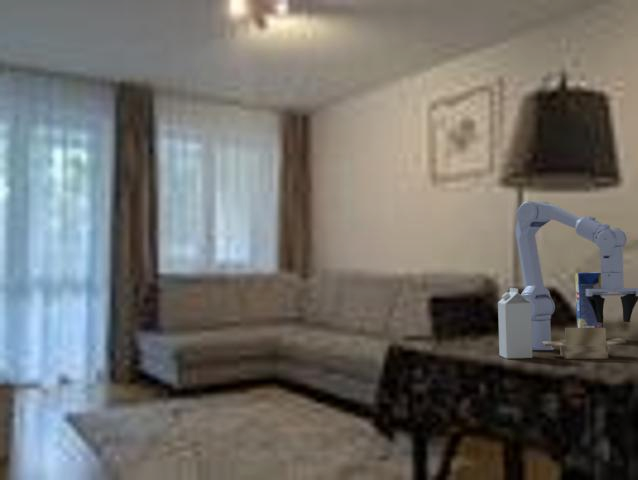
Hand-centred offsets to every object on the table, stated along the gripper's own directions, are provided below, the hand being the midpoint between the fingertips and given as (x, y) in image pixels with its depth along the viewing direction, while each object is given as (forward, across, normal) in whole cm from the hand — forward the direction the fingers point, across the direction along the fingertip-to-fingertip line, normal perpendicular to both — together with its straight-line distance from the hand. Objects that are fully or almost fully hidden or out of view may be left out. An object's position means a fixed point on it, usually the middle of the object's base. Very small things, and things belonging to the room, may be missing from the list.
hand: (613, 322), depth 193 cm
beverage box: (+10, +13, +39) cm, 42 cm away
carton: (+9, -10, +4) cm, 14 cm away
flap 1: (+3, -9, -3) cm, 10 cm away
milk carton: (+10, -26, +5) cm, 28 cm away
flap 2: (+5, -1, -1) cm, 5 cm away
